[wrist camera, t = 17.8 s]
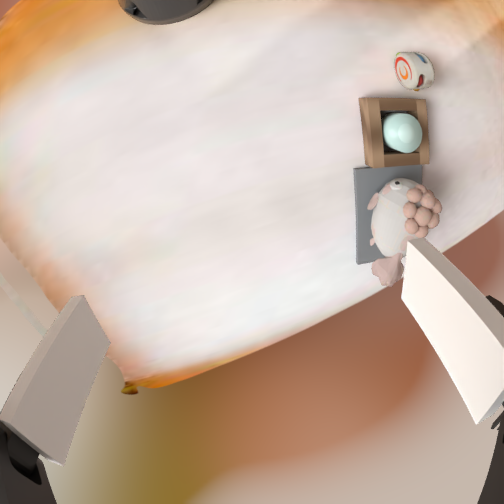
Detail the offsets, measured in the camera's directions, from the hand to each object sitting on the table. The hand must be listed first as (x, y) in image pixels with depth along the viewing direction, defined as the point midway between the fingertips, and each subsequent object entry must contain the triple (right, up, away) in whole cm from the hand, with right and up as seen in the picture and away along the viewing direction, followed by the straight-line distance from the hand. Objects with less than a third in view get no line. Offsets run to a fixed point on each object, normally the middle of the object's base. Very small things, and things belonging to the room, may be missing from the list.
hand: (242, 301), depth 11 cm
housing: (+21, +20, +26) cm, 39 cm away
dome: (+21, +20, +25) cm, 38 cm away
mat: (+22, +8, +32) cm, 40 cm away
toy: (+21, +7, +32) cm, 39 cm away
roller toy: (+23, +29, +22) cm, 43 cm away
